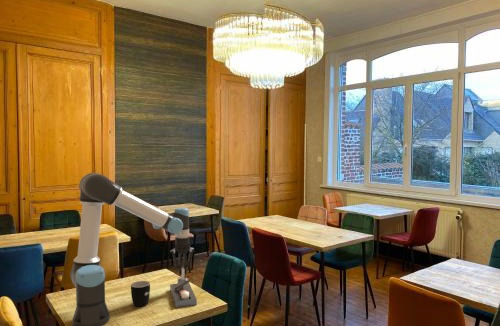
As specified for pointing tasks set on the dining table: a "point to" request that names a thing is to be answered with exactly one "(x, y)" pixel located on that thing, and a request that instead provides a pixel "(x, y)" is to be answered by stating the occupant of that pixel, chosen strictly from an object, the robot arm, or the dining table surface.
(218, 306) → the dining table surface
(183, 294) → the cream button
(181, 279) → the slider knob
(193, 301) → the panel
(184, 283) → the rocker
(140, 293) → the mug
